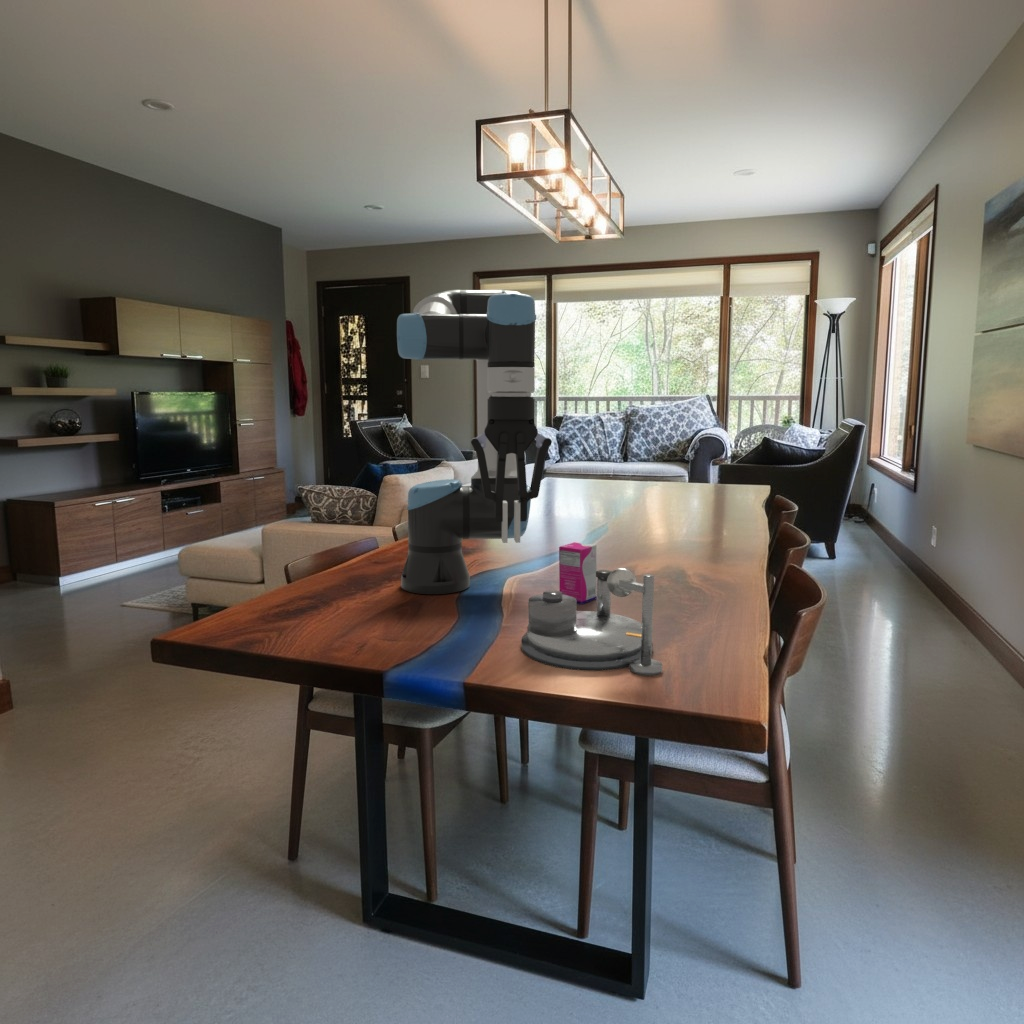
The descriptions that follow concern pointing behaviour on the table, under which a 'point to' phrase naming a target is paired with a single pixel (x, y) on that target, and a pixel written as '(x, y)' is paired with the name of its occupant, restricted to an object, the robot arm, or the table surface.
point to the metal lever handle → (621, 586)
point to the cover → (552, 614)
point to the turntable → (594, 632)
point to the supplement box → (578, 571)
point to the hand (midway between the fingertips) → (510, 540)
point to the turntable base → (576, 664)
